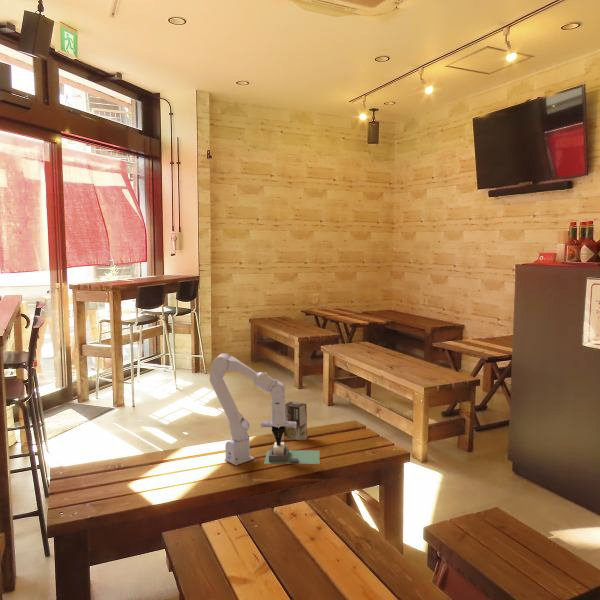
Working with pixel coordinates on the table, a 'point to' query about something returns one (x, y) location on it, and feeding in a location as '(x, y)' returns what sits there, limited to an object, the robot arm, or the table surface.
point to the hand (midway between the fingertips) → (278, 444)
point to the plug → (278, 449)
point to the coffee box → (298, 415)
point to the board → (293, 457)
